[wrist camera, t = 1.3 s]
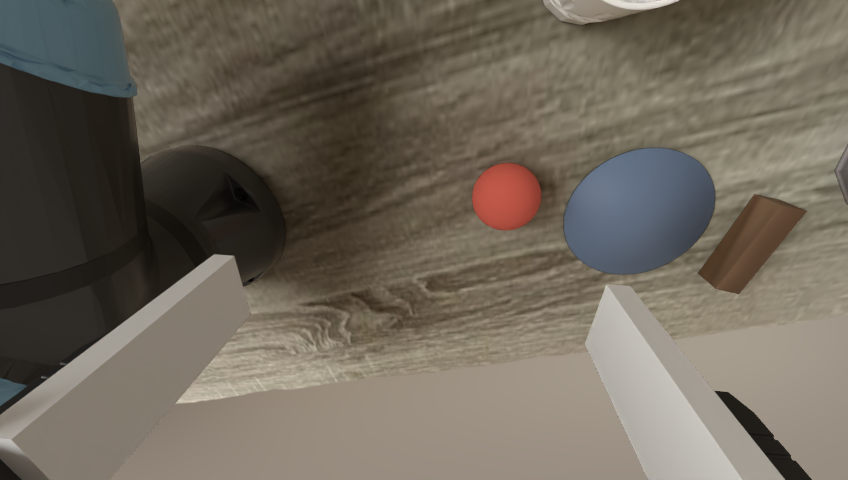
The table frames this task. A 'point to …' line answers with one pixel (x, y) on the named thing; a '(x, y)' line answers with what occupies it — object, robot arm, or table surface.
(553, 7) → the white cup
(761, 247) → the block
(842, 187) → the can
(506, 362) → the table surface
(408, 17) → the table surface
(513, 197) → the ball
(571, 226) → the blue disc
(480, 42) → the table surface
